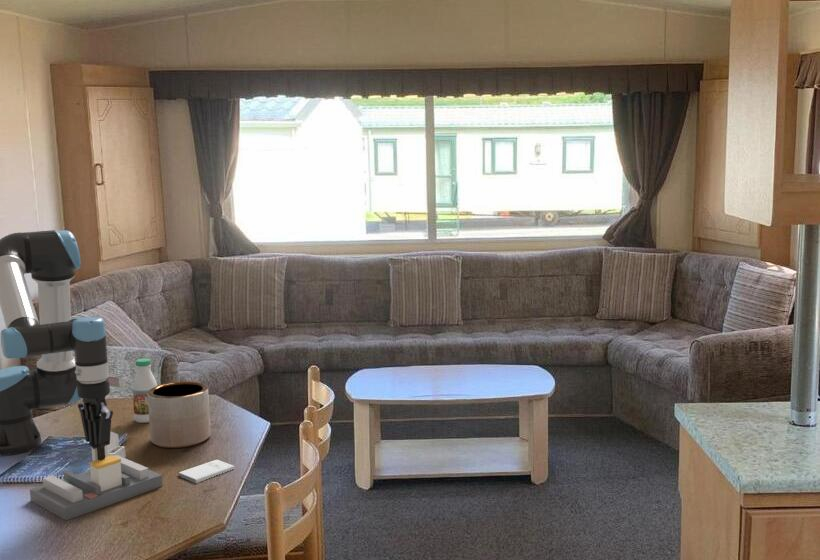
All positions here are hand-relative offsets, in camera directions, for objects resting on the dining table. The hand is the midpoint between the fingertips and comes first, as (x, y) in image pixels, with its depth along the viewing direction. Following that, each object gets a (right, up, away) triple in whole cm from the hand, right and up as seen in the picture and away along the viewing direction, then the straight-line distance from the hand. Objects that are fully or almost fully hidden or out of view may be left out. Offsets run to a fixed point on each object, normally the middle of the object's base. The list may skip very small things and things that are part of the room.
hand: (99, 470), depth 209 cm
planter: (+9, 0, +42) cm, 43 cm away
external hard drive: (+23, -5, +15) cm, 28 cm away
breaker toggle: (+2, -4, -1) cm, 4 cm away
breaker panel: (-1, -6, +2) cm, 7 cm away
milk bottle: (-7, +2, +61) cm, 61 cm away
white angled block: (-5, -3, +25) cm, 26 cm away
